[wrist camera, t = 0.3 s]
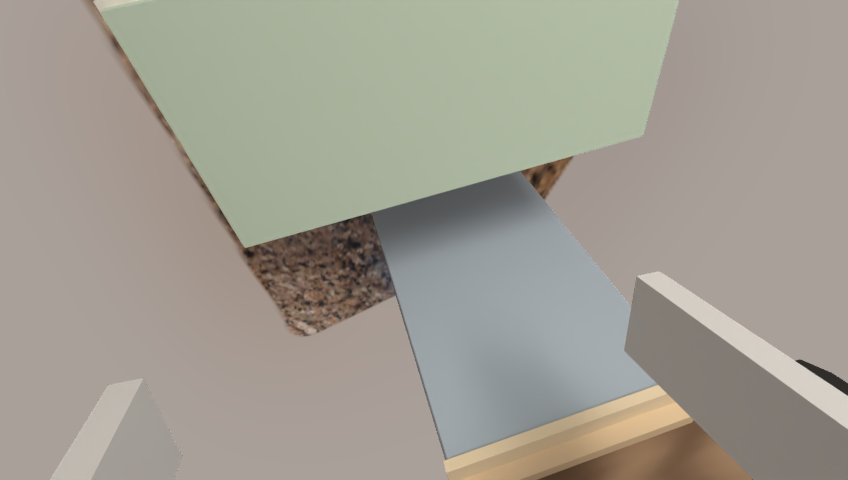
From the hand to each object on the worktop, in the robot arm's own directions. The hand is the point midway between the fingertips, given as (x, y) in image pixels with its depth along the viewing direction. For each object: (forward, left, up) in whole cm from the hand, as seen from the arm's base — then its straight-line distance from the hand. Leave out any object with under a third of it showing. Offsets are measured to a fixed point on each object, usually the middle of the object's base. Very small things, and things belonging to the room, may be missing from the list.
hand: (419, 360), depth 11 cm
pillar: (+6, +15, -29) cm, 33 cm away
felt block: (-5, +1, -29) cm, 29 cm away
